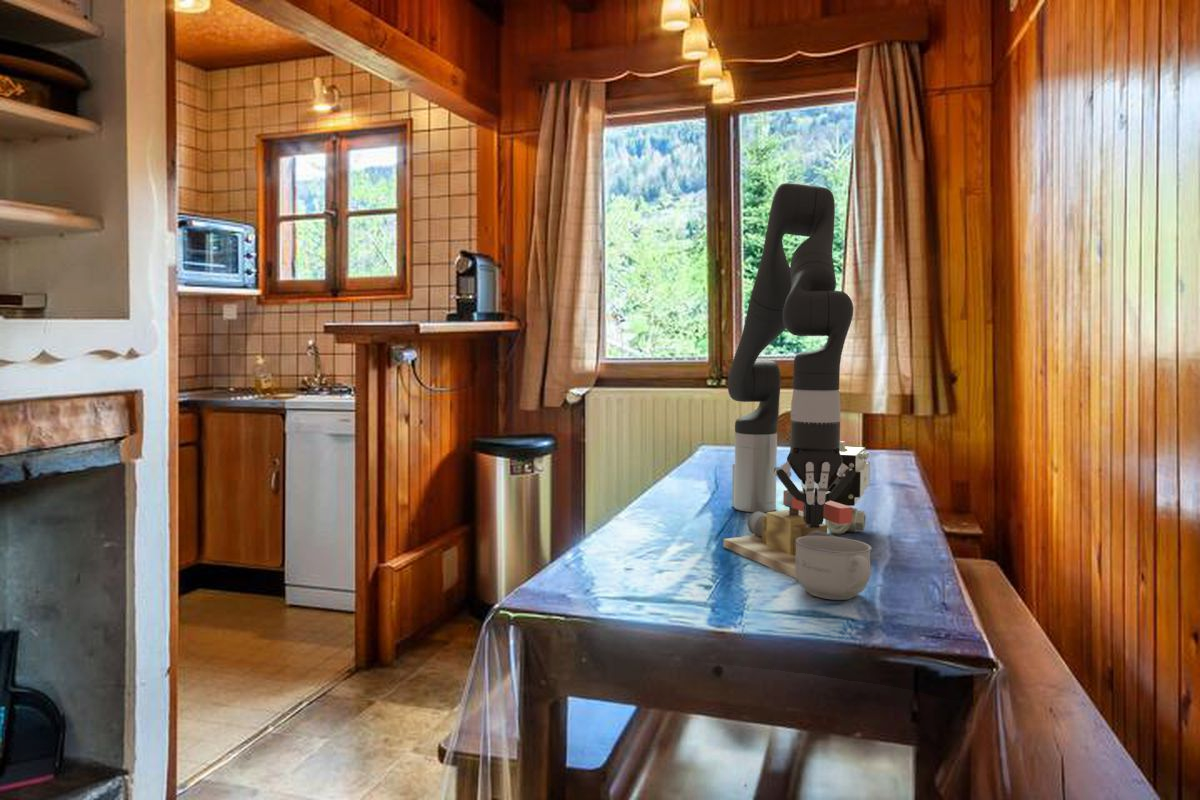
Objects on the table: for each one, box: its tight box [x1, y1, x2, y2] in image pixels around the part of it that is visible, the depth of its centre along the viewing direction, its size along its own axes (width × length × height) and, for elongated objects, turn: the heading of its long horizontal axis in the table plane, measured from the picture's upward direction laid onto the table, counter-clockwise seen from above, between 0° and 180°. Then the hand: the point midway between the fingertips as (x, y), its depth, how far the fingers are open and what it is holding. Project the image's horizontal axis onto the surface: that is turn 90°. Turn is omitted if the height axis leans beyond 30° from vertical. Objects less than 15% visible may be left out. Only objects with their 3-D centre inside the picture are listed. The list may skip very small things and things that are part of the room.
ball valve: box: [824, 440, 871, 535], centre depth 154 cm, size 18×8×18 cm, turn 154°
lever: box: [782, 489, 853, 524], centre depth 129 cm, size 16×3×2 cm, turn 20°
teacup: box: [795, 535, 873, 601], centre depth 114 cm, size 14×11×8 cm
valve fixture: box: [722, 507, 837, 579], centre depth 136 cm, size 21×15×9 cm
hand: (813, 526), depth 124 cm, fingers closed
